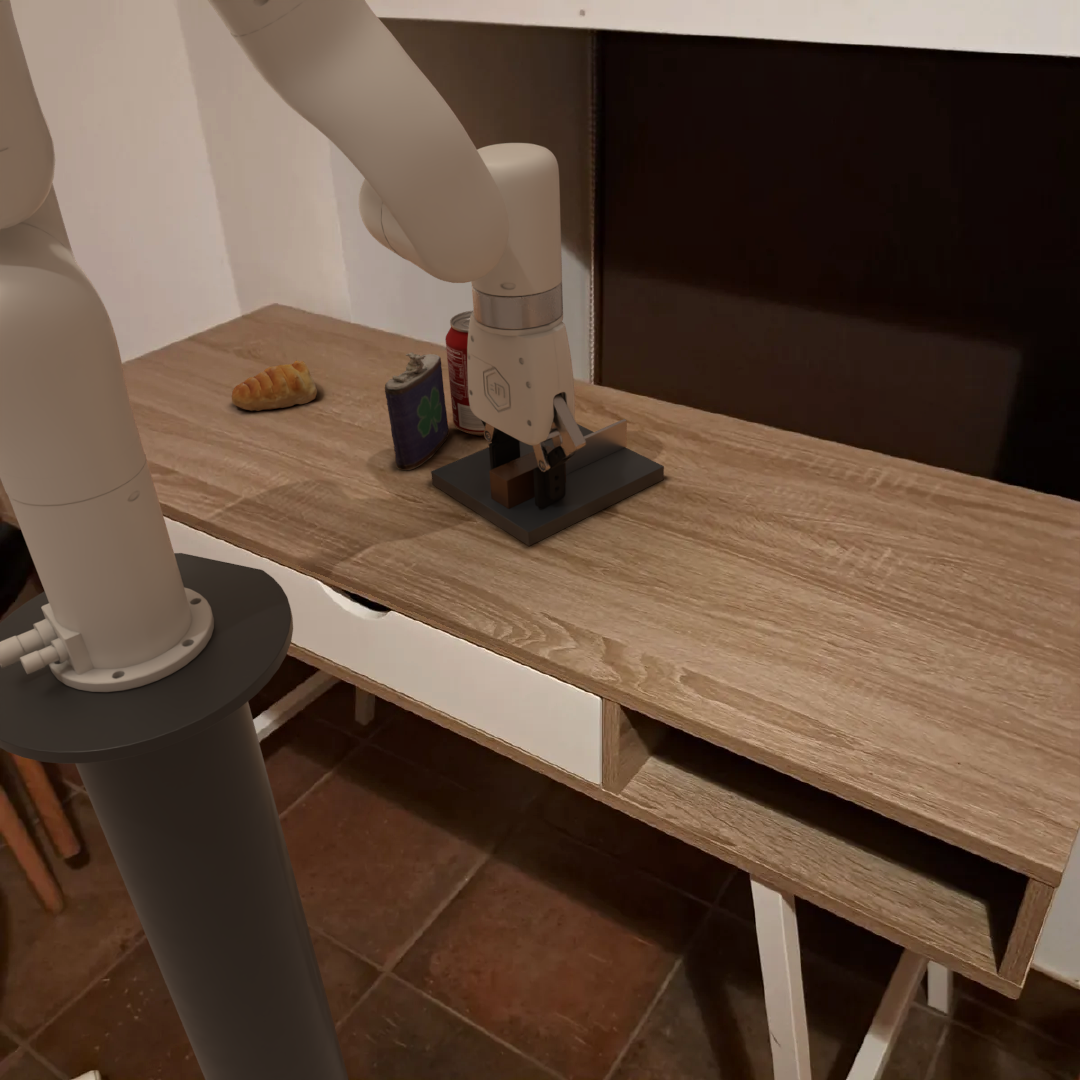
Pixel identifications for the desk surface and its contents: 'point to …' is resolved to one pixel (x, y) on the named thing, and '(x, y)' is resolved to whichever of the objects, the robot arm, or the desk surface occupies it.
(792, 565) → the desk surface
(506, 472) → the knife
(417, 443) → the flask
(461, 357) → the soda can
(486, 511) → the board
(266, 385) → the pastry
